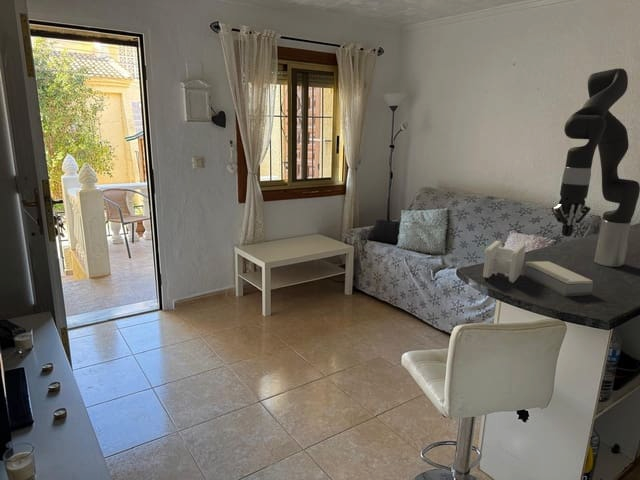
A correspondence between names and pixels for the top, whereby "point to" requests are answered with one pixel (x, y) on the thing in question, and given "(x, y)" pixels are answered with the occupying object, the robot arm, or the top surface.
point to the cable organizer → (504, 261)
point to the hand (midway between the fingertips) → (566, 235)
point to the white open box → (558, 283)
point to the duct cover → (559, 272)
